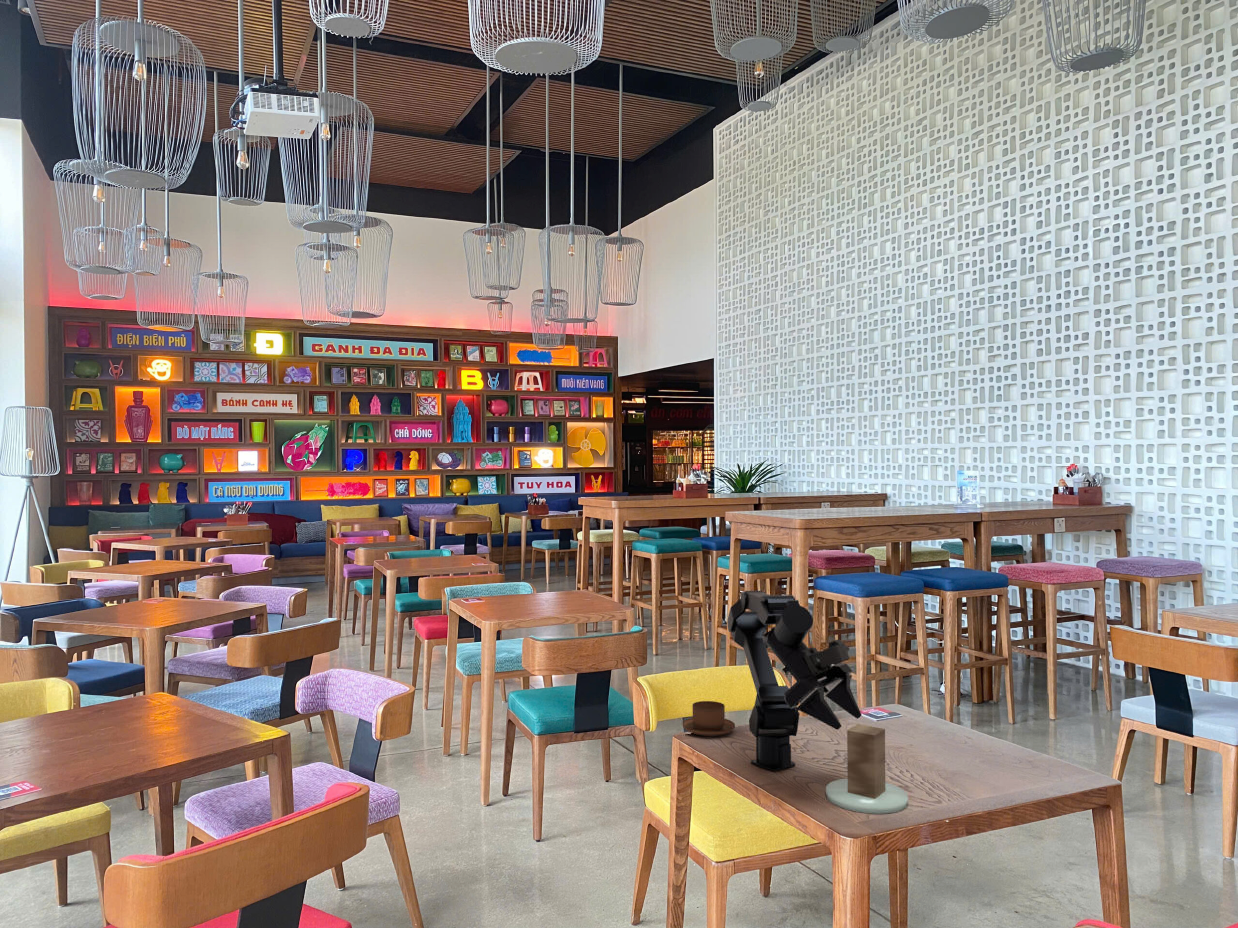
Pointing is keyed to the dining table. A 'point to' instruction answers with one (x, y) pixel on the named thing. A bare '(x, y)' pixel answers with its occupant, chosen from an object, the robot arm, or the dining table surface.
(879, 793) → the walnut block
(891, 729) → the dining table surface
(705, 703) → the cup and saucer
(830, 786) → the dish
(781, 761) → the robot arm
